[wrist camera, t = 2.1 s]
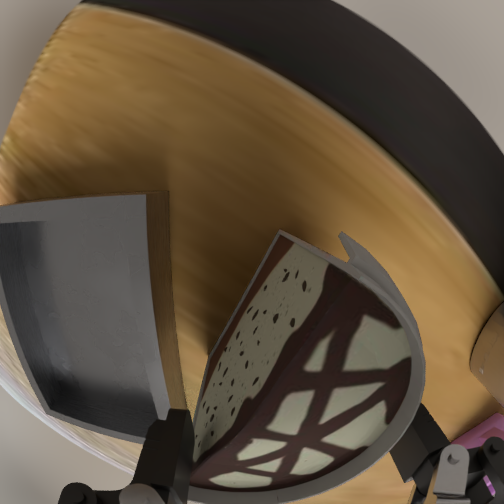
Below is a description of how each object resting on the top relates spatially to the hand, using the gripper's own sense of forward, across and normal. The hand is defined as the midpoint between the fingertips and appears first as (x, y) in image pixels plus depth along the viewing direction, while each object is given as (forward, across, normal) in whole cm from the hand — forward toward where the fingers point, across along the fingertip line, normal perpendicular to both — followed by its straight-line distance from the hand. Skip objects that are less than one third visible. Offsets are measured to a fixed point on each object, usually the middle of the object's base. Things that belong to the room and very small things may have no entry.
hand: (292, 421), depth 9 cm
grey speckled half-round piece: (+8, -1, -1) cm, 8 cm away
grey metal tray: (+8, +12, 0) cm, 15 cm away
